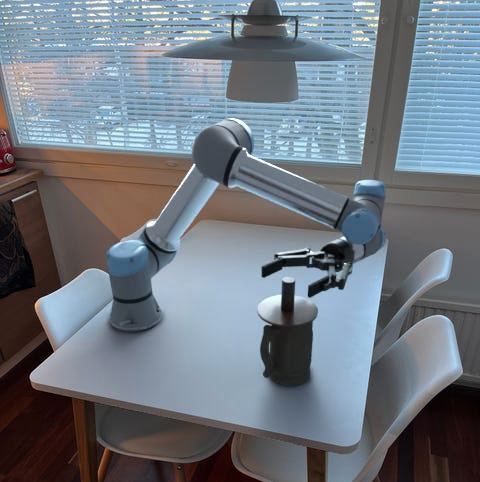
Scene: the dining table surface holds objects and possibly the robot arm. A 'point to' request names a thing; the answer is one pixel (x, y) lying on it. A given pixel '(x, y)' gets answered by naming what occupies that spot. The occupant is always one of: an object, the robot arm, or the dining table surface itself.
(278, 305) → the lid
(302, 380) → the beer stein
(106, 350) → the dining table surface
